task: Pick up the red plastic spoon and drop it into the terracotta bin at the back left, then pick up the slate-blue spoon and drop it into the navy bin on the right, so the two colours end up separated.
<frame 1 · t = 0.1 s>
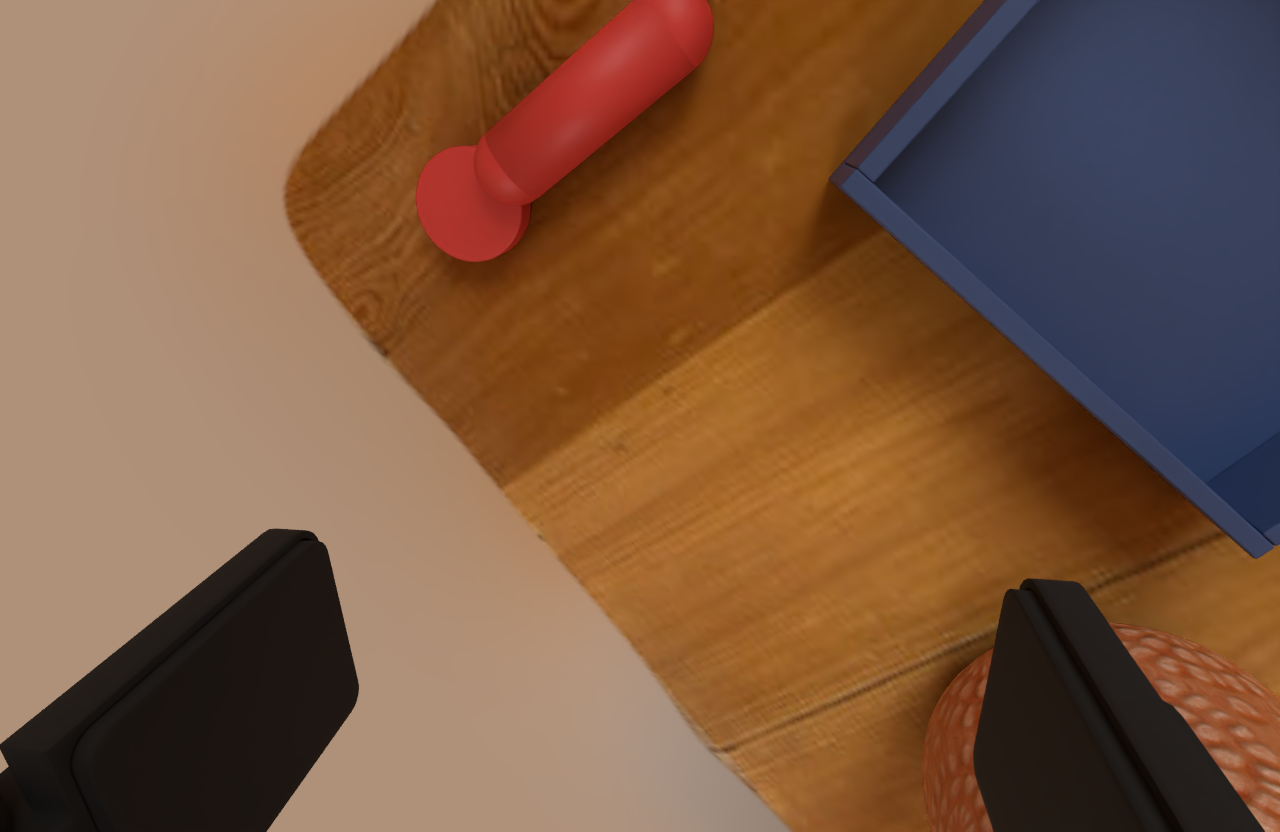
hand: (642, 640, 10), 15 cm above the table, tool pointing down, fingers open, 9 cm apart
red spoon: (555, 137, 22), on the table
blue bin: (1208, 177, 20), on the table
planter: (1063, 704, 27), on the table
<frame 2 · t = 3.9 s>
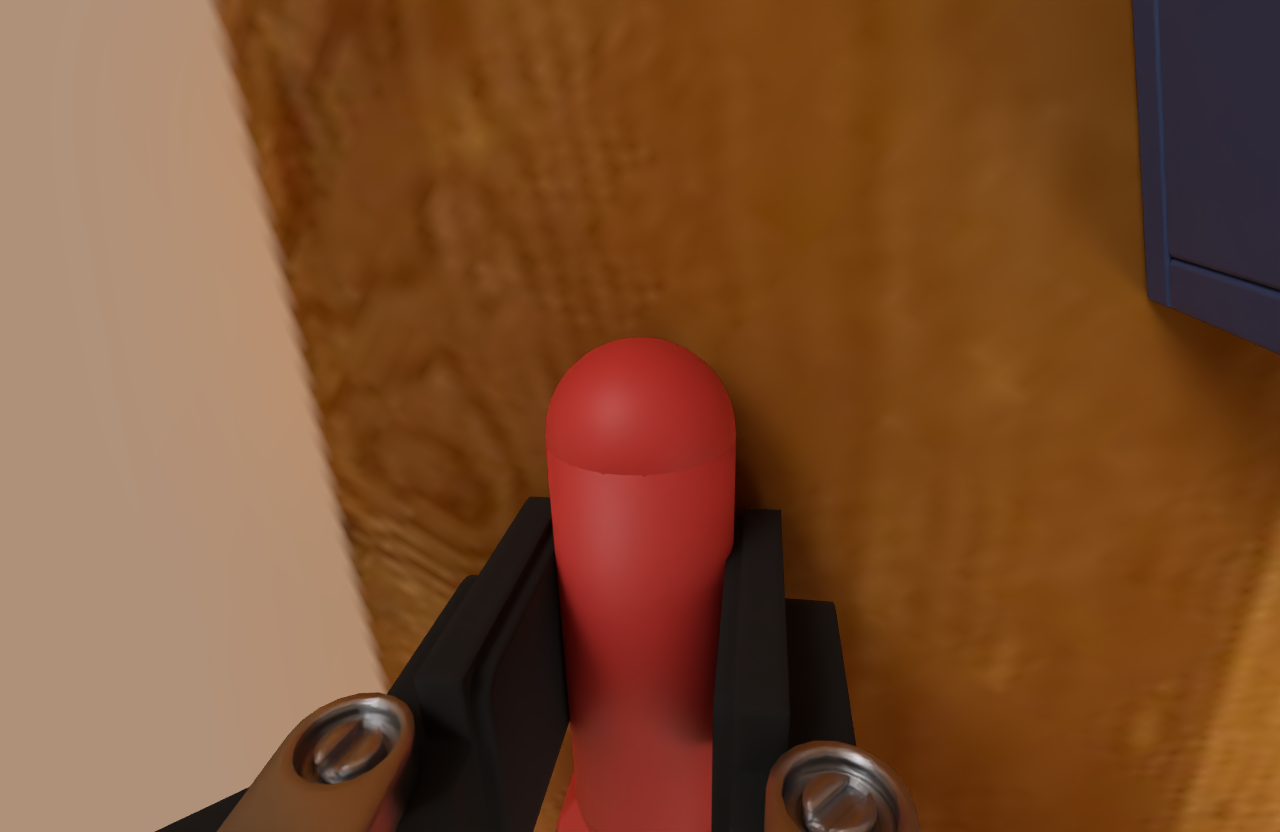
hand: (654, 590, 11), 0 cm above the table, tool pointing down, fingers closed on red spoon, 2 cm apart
red spoon: (660, 661, 12), on the table, touching gripper
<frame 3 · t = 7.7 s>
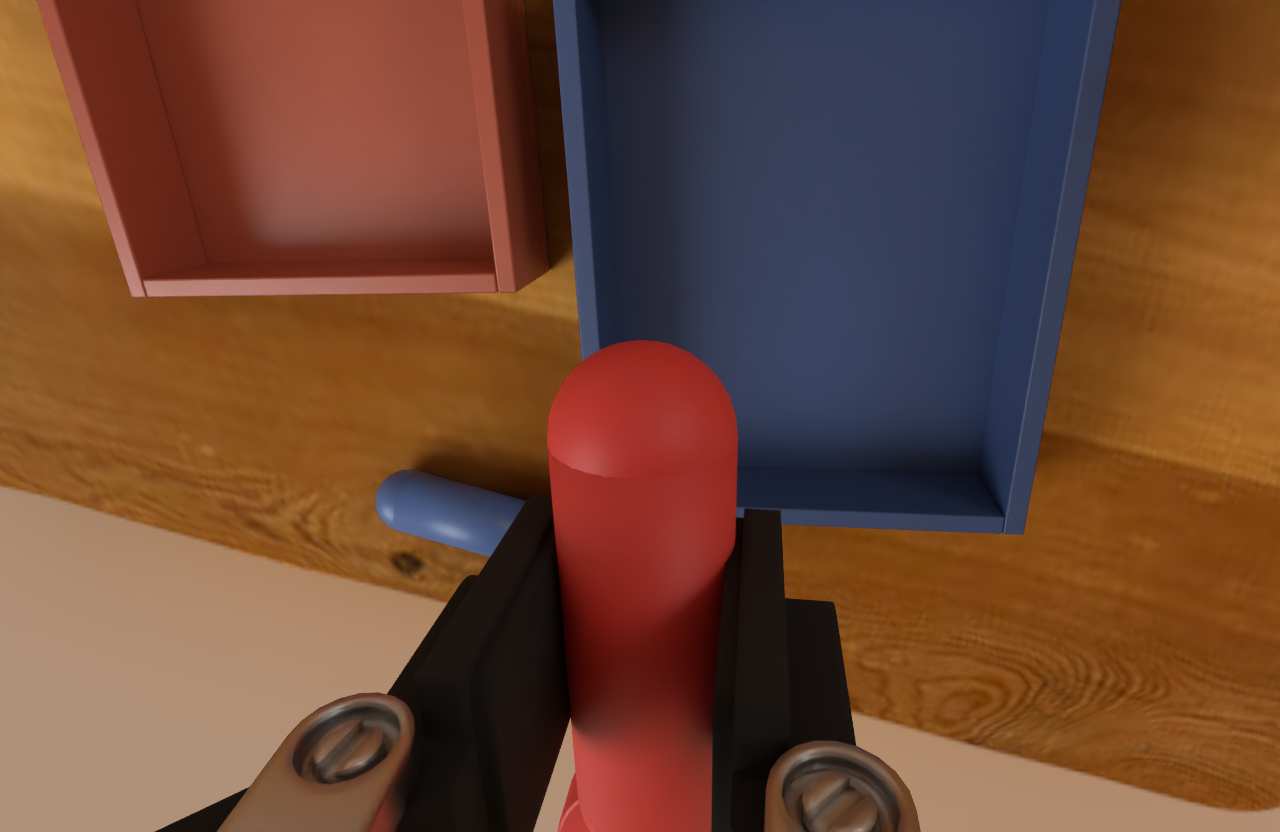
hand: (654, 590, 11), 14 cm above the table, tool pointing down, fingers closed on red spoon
red spoon: (661, 663, 12), point 14 cm above the table, touching gripper
blue bin: (803, 247, 22), on the table
red bin: (322, 15, 22), on the table
blue spoon: (534, 517, 28), on the table
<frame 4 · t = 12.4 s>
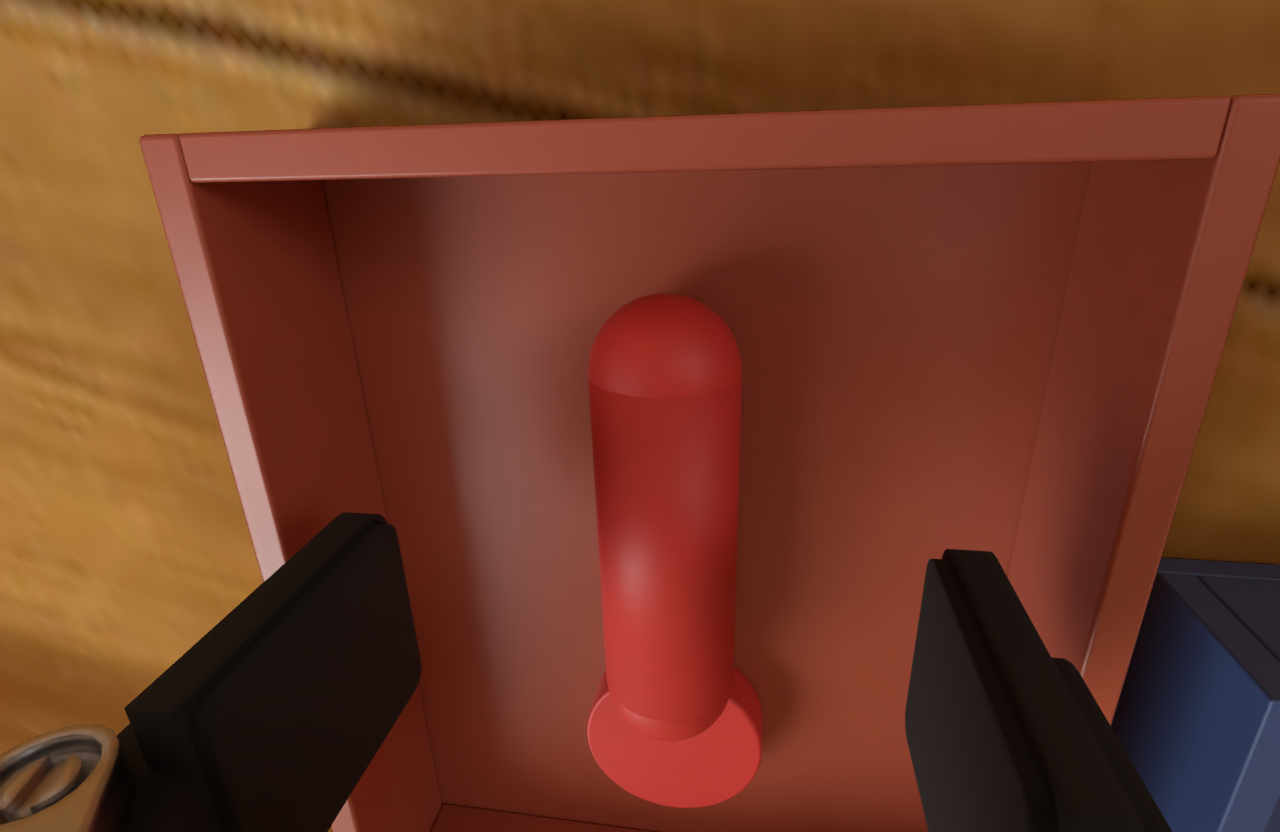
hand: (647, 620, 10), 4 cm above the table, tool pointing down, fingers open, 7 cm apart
red spoon: (676, 576, 14), point 1 cm above the table, touching red bin
red bin: (679, 552, 14), on the table
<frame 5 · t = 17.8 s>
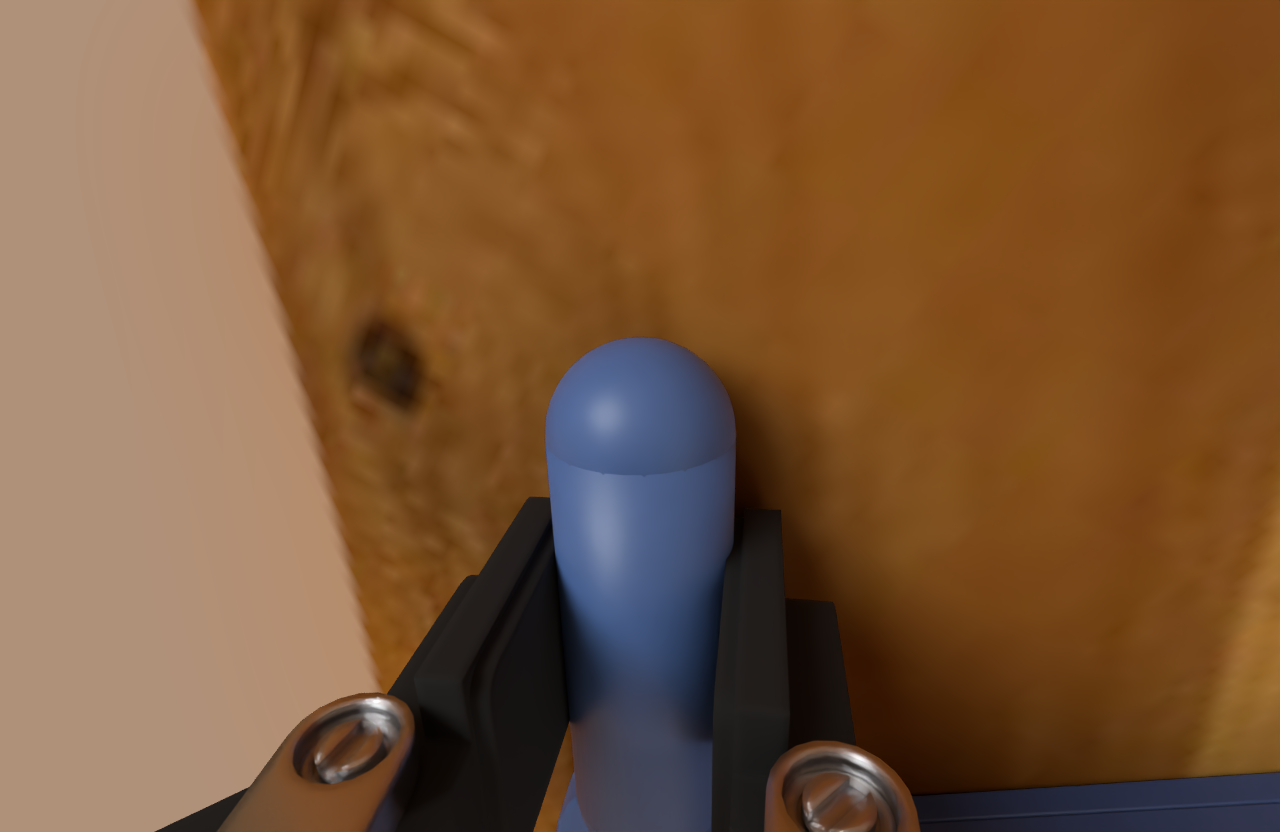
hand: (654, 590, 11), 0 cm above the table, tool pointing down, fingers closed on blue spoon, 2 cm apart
blue spoon: (660, 661, 12), on the table, touching gripper
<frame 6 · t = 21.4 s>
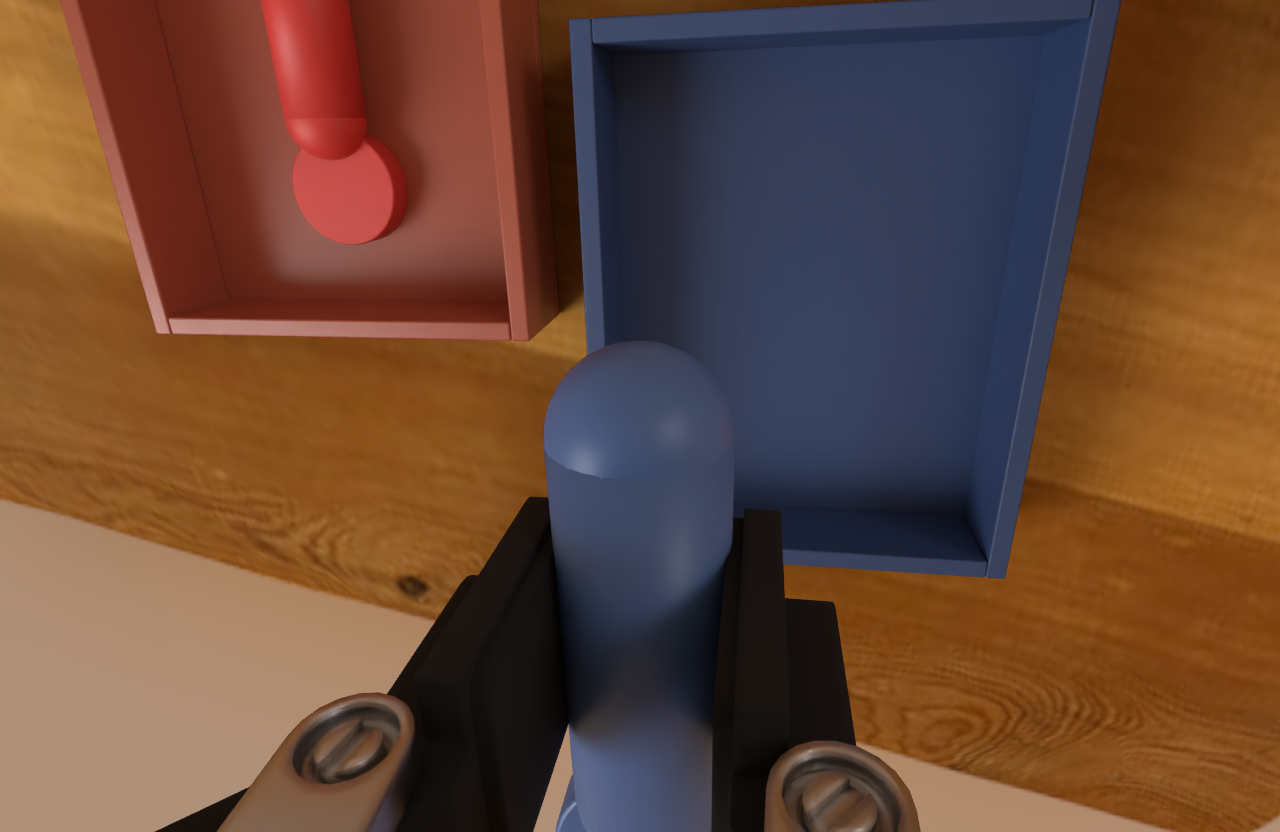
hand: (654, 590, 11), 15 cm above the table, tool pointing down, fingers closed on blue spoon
red spoon: (340, 76, 22), resting on red bin
blue bin: (801, 300, 23), on the table
red bin: (347, 69, 23), on the table
blue spoon: (658, 664, 12), point 14 cm above the table, touching gripper
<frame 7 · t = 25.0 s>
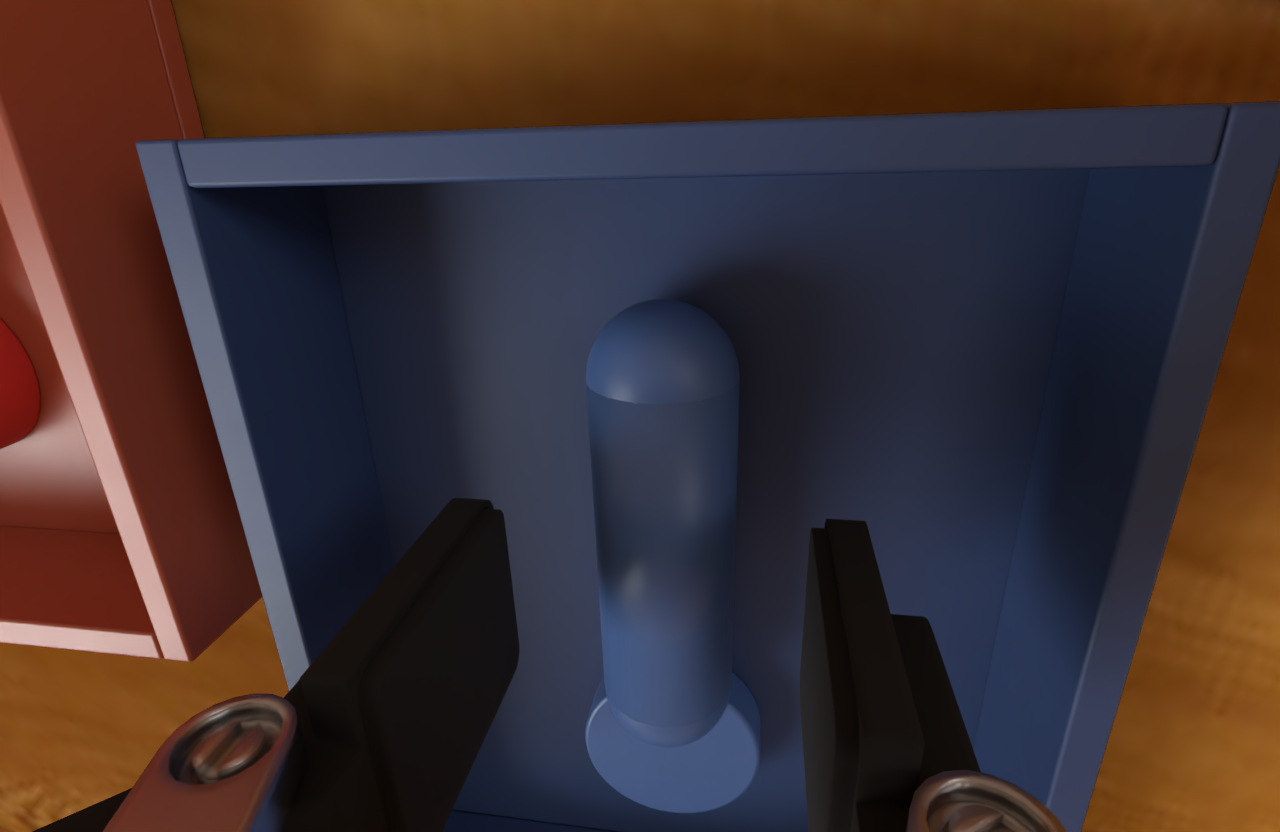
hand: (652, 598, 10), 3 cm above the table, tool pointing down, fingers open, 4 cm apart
blue bin: (678, 557, 14), on the table
blue spoon: (674, 582, 14), point 1 cm above the table, touching blue bin
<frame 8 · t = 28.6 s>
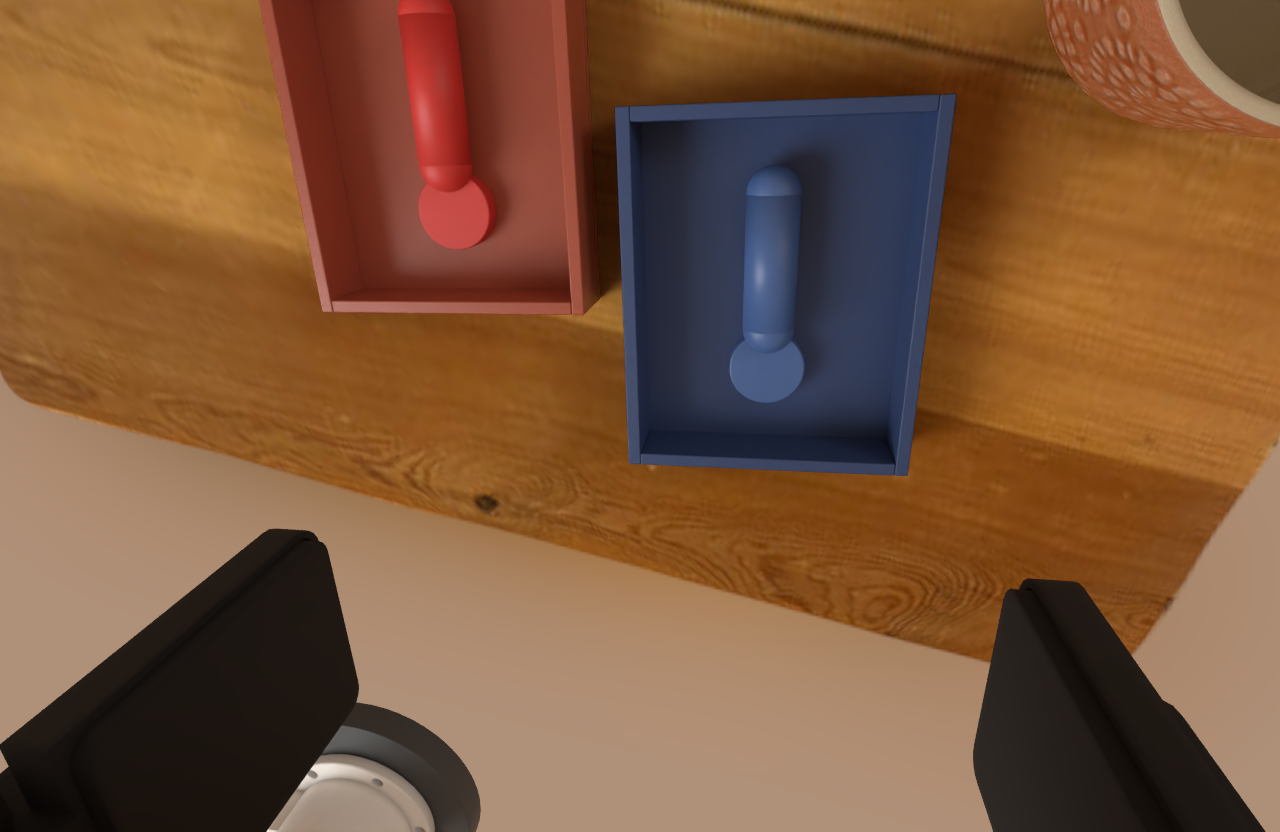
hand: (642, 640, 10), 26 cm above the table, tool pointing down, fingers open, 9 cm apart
red spoon: (452, 134, 33), resting on red bin
blue bin: (770, 287, 33), on the table
red bin: (456, 129, 33), on the table
blue spoon: (769, 294, 33), resting on blue bin
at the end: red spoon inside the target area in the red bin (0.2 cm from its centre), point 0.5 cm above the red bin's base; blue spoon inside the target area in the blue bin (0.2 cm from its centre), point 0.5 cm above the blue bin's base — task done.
